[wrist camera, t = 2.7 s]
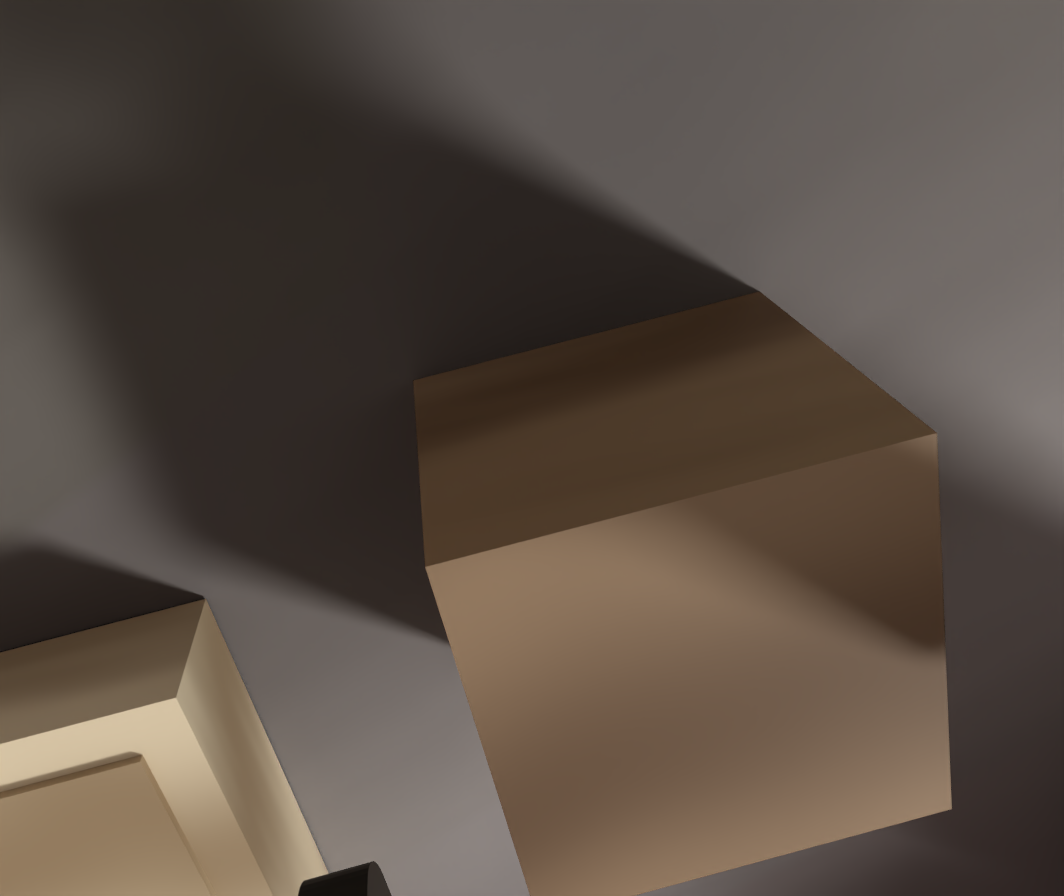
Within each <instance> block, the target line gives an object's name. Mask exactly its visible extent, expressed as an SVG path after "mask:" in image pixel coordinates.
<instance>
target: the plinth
mask: <svg viewBox="0 0 1064 896" xmlns="http://www.w3.org/2000/svg"><path fill="white" fill-rule="evenodd" d="M326 874H329V873H328V871H327V869H326V866H325V864H324V862H323V860H322V858H321V855H320V853H319V851H318V849H317V846H316V844H315V842H314V840H313V837H312V835H311V833H310V831H309V828H308V826H307V824H306V822H305V820H304V817H303V815H302V813H301V811H300V808H299V806H298V804H297V802H296V799H295V797H294V795H293V793H292V790H291V788H290V786H289V784H288V782H287V779H286V777H285V775H284V773H283V770H282V768H281V766H280V764H279V761H278V759H277V757H276V755H275V752H274V750H273V748H272V746H271V744H270V741H269V739H268V737H267V735H266V732H265V730H264V728H263V726H262V723H261V721H260V719H259V717H258V714H257V712H256V710H255V708H254V706H253V703H252V701H251V699H250V697H249V694H248V692H247V690H246V688H245V685H244V683H243V681H242V679H241V676H240V674H239V672H238V670H237V667H236V665H235V663H234V661H233V659H232V656H231V654H230V652H229V650H228V647H227V645H226V643H225V641H224V638H223V636H222V634H221V632H220V629H219V627H218V625H217V623H216V621H215V618H214V616H213V614H212V612H211V609H210V607H209V605H208V603H207V600H206V599H203V600H199V601H195V602H191V603H188V604H184V605H180V606H176V607H172V608H169V609H165V610H161V611H157V612H153V613H149V614H146V615H142V616H138V617H134V618H130V619H127V620H123V621H119V622H115V623H111V624H107V625H104V626H100V627H96V628H92V629H88V630H85V631H81V632H77V633H73V634H69V635H65V636H62V637H58V638H54V639H50V640H46V641H42V642H39V643H35V644H31V645H27V646H23V647H20V648H16V649H12V650H8V651H4V652H0V896H298V893H299V889H300V886H301V884H302V882H303V881H304V880H308V879H311V878H315V877H319V876H322V875H326Z"/></svg>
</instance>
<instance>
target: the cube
mask: <svg viewBox="0 0 1064 896" xmlns="http://www.w3.org/2000/svg"><path fill="white" fill-rule="evenodd" d="M413 386H414V401H415V417H416V432H417V448H418V463H419V479H420V494H421V510H422V525H423V541H424V557H425V568H426V571H427V574H428V577H429V581H430V584H431V587H432V590H433V593H434V596H435V599H436V602H437V606H438V609H439V612H440V615H441V618H442V621H443V624H444V627H445V631H446V634H447V637H448V640H449V643H450V646H451V649H452V652H453V656H454V659H455V662H456V665H457V668H458V671H459V674H460V677H461V681H462V684H463V687H464V690H465V693H466V696H467V699H468V702H469V706H470V709H471V712H472V715H473V718H474V721H475V724H476V727H477V731H478V734H479V737H480V740H481V743H482V746H483V749H484V752H485V756H486V759H487V762H488V765H489V768H490V771H491V774H492V777H493V781H494V784H495V787H496V790H497V793H498V796H499V799H500V802H501V806H502V809H503V812H504V815H505V818H506V821H507V824H508V827H509V831H510V834H511V837H512V840H513V843H514V846H515V849H516V852H517V856H518V859H519V862H520V865H521V868H522V871H523V874H524V877H525V881H526V884H527V887H528V890H529V893H530V896H635V895H638V894H642V893H646V892H649V891H653V890H657V889H660V888H664V887H668V886H671V885H675V884H679V883H682V882H686V881H690V880H693V879H697V878H701V877H704V876H708V875H712V874H715V873H719V872H723V871H726V870H730V869H734V868H737V867H741V866H745V865H748V864H752V863H756V862H759V861H763V860H767V859H770V858H774V857H778V856H781V855H785V854H789V853H792V852H796V851H800V850H803V849H807V848H811V847H814V846H818V845H822V844H825V843H829V842H833V841H836V840H840V839H844V838H847V837H851V836H855V835H859V834H862V833H866V832H870V831H873V830H877V829H881V828H884V827H888V826H892V825H895V824H899V823H903V822H906V821H910V820H914V819H917V818H921V817H925V816H928V815H932V814H936V813H939V812H943V811H947V810H950V809H952V802H951V776H950V751H949V725H948V700H947V675H946V649H945V624H944V599H943V573H942V548H941V523H940V497H939V472H938V446H937V433H936V432H935V431H934V430H933V429H931V428H930V427H929V426H928V425H926V424H925V423H924V422H923V421H921V420H920V419H919V418H918V417H916V416H915V415H914V414H913V413H911V412H910V411H909V410H908V409H906V408H905V407H904V406H902V405H901V404H900V403H899V402H897V401H896V400H895V399H894V398H892V397H891V396H890V395H889V394H887V393H886V392H885V391H884V390H882V389H881V388H880V387H879V386H877V385H876V384H875V383H874V382H872V381H871V380H870V379H869V378H867V377H866V376H865V375H864V374H862V373H861V372H860V371H859V370H857V369H856V368H855V367H854V366H852V365H851V364H850V363H849V362H847V361H846V360H845V359H844V358H842V357H841V356H840V355H839V354H837V353H836V352H835V351H834V350H832V349H831V348H830V347H829V346H827V345H826V344H825V343H824V342H822V341H821V340H820V339H819V338H817V337H816V336H815V335H814V334H812V333H811V332H810V331H809V330H807V329H806V328H805V327H804V326H802V325H801V324H800V323H799V322H797V321H796V320H795V319H793V318H792V317H791V316H790V315H788V314H787V313H786V312H785V311H783V310H782V309H781V308H780V307H778V306H777V305H776V304H775V303H773V302H772V301H771V300H770V299H768V298H767V297H766V296H765V295H763V294H762V293H761V292H760V291H759V292H756V293H752V294H748V295H744V296H740V297H736V298H732V299H728V300H724V301H720V302H717V303H713V304H709V305H705V306H701V307H697V308H693V309H689V310H685V311H682V312H678V313H674V314H670V315H666V316H662V317H658V318H654V319H650V320H647V321H643V322H639V323H635V324H631V325H627V326H623V327H619V328H615V329H612V330H608V331H604V332H600V333H596V334H592V335H588V336H584V337H580V338H576V339H573V340H569V341H565V342H561V343H557V344H553V345H549V346H545V347H541V348H538V349H534V350H530V351H526V352H522V353H518V354H514V355H510V356H506V357H503V358H499V359H495V360H491V361H487V362H483V363H479V364H475V365H471V366H467V367H464V368H460V369H456V370H452V371H448V372H444V373H440V374H436V375H432V376H429V377H425V378H421V379H417V380H413Z"/></svg>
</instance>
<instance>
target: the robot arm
mask: <svg viewBox="0 0 1064 896" xmlns="http://www.w3.org/2000/svg"><path fill="white" fill-rule="evenodd" d="M298 896H391V893H390V891H389V888H388V886H387V883H386V881H385V879H384V876H383V874H382V872H381V869H380V868H379V866H378V864H377V863H376V862H374V861H373V862H369V863H366V864H362V865H358V866H355V867H351V868H348V869H344V870H340V871H337V872H333V873H330V874H326V875H322V876H319V877H315V878H311V879H308V880H304V881H303V882H302V884H301V886H300V889H299V893H298Z"/></svg>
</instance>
